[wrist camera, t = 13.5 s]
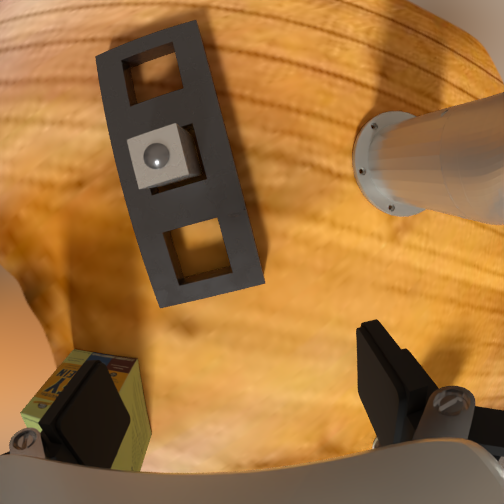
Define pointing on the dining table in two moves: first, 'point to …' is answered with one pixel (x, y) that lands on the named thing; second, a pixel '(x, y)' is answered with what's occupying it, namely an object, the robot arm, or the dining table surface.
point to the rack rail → (189, 196)
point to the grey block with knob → (164, 157)
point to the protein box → (129, 390)
